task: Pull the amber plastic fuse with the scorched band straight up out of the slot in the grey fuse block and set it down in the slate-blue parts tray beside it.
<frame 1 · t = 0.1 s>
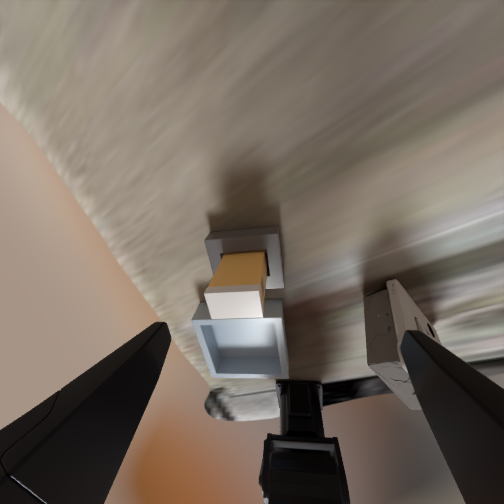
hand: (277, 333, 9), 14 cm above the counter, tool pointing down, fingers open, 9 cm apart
parts tray: (246, 331, 29), on the counter
electrical switch: (390, 314, 25), on the counter
fuse block: (248, 255, 24), on the counter
fuse: (242, 276, 20), in the fuse block
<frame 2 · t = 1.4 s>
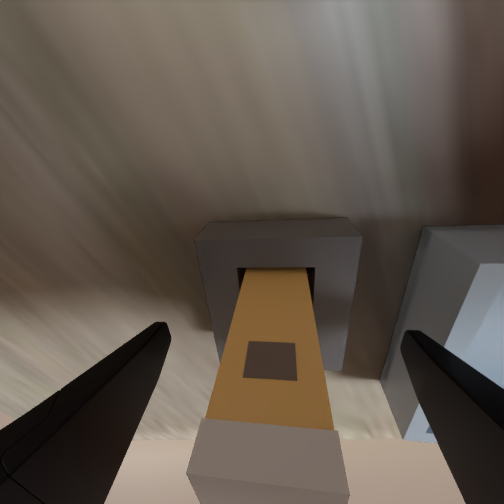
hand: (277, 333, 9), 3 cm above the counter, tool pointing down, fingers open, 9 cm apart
fuse block: (277, 285, 11), on the counter
fuse: (275, 352, 8), in the fuse block
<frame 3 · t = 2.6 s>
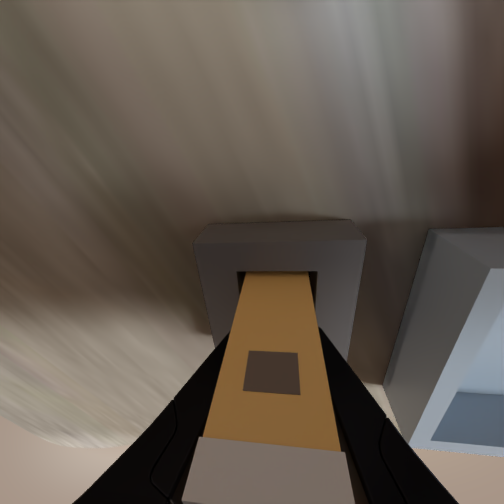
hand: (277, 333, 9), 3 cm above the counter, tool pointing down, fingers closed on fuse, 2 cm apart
fuse block: (278, 289, 11), on the counter
fuse: (276, 360, 8), in the fuse block, touching gripper
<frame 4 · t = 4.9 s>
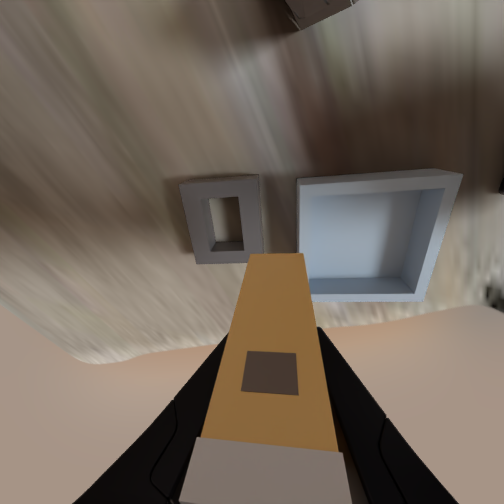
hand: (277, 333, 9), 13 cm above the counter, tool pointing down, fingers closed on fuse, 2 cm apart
parts tray: (355, 233, 20), on the counter
fuse block: (228, 218, 20), on the counter
fuse: (275, 360, 8), point 14 cm above the counter, touching gripper
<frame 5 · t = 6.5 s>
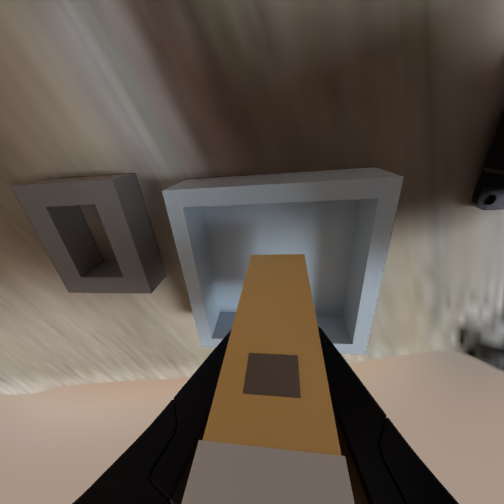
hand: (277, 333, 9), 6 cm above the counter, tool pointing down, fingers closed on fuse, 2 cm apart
parts tray: (278, 256, 14), on the counter
fuse block: (110, 231, 15), on the counter
fuse: (276, 361, 8), point 8 cm above the counter, touching gripper
when the fingers open (5 cm above the counter, at t = 7.4 s): fuse drops 1 cm, resting on parts tray.
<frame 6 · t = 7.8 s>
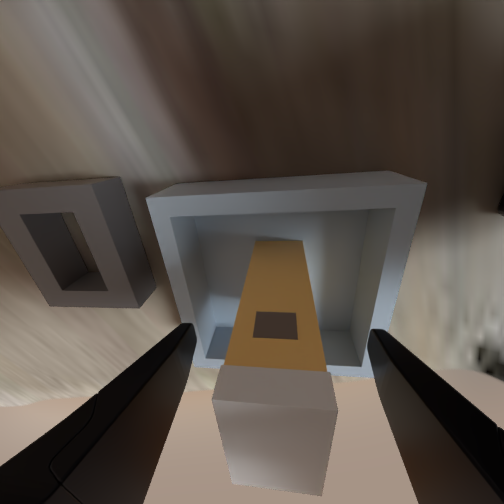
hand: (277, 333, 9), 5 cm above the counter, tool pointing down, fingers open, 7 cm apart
parts tray: (278, 267, 13), on the counter
fuse block: (94, 240, 14), on the counter
fuse: (277, 328, 9), in the parts tray, point 5 cm above the counter
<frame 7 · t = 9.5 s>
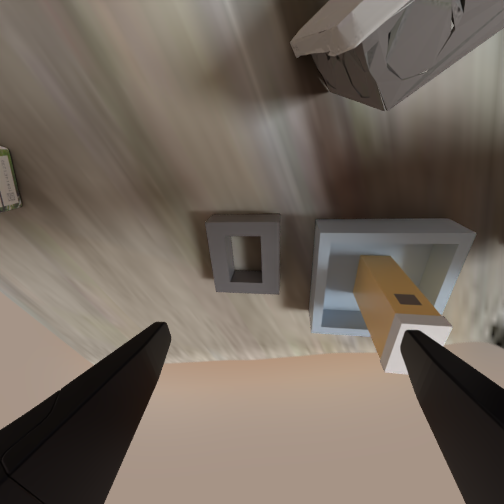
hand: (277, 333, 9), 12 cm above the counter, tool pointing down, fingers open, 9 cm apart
parts tray: (368, 271, 21), on the counter
electrical switch: (382, 23, 13), on the counter
fuse block: (247, 250, 21), on the counter
fuse: (388, 305, 16), in the parts tray, point 5 cm above the counter
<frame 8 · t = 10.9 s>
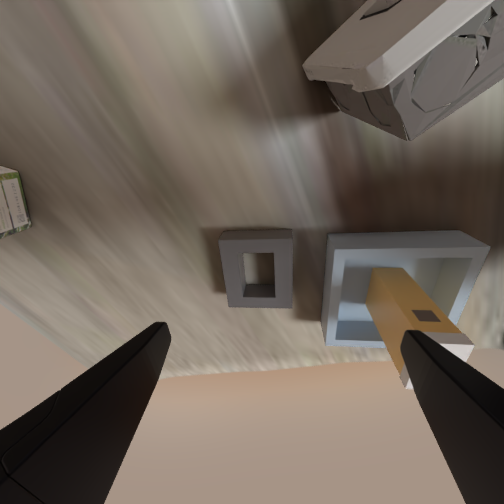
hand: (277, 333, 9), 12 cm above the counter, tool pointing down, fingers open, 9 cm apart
parts tray: (380, 282, 21), on the counter
electrical switch: (393, 45, 13), on the counter
syrup box: (2, 192, 21), on the counter
fuse block: (259, 264, 21), on the counter
fuse: (404, 319, 17), in the parts tray, point 5 cm above the counter
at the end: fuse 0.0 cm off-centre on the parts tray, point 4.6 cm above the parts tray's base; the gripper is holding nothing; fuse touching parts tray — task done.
